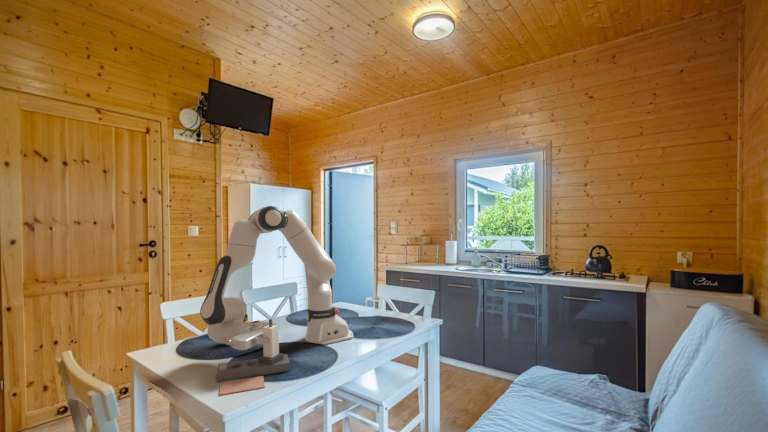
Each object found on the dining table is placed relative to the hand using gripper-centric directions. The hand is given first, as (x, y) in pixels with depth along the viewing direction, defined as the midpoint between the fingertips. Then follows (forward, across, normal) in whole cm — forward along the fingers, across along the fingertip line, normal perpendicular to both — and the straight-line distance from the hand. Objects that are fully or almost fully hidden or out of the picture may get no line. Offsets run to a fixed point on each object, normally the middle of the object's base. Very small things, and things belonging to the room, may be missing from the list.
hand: (272, 338), depth 138 cm
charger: (-1, 0, +6) cm, 7 cm away
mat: (-1, -15, +12) cm, 19 cm away
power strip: (-6, -4, +12) cm, 13 cm away
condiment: (-34, +19, +12) cm, 40 cm away
